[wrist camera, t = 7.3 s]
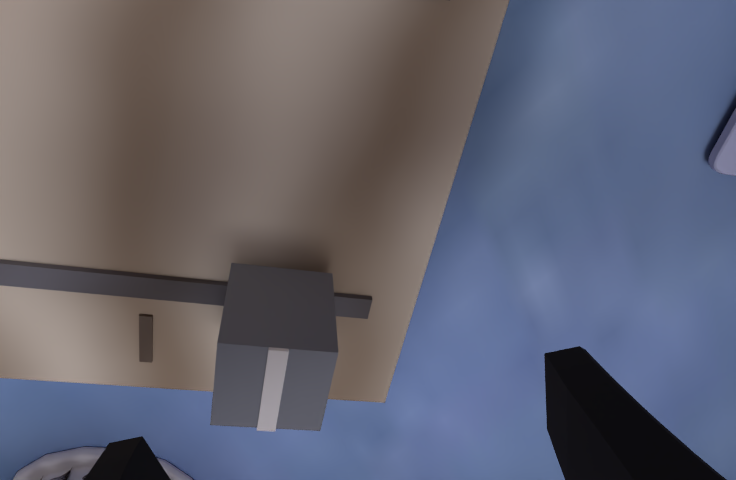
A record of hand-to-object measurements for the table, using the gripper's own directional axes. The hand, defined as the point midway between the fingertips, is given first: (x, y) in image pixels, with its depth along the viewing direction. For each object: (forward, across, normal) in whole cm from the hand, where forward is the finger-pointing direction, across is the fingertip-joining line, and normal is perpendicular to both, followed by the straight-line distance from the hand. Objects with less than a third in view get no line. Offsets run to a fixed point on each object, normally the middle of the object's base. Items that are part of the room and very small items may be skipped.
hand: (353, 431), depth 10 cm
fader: (+7, +2, +3) cm, 8 cm away
